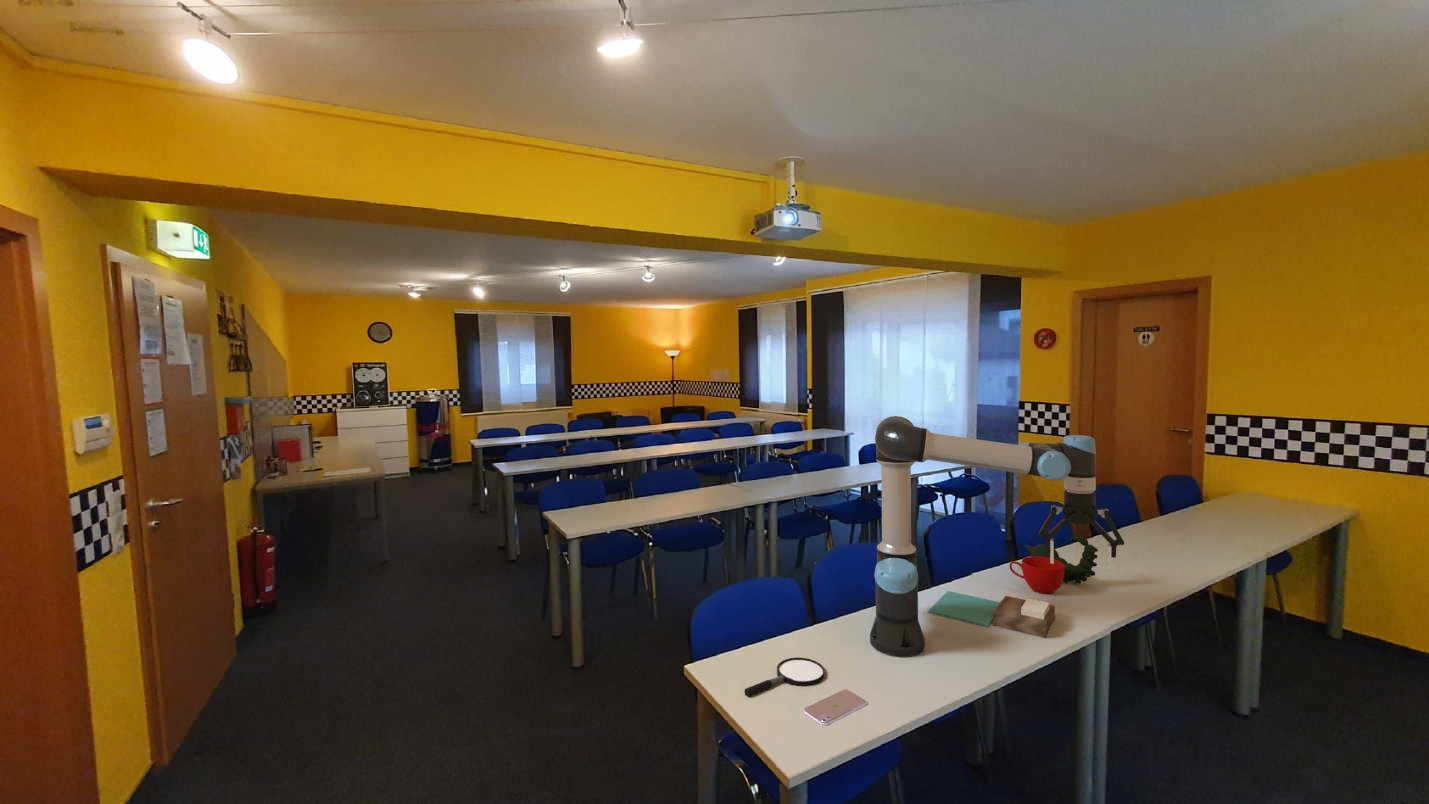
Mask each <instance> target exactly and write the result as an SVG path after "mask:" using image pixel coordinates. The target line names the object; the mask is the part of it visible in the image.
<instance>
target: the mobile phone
mask: <svg viewBox="0 0 1429 804" xmlns="http://www.w3.org/2000/svg"><path fill="white" fill-rule="evenodd" d="M867 705H868V702H867V700H866V699H864V698H863V697H861V696H859V695H857V694H856V693H854V692H852V691H851V690H849V689H842V690H840V691H838V692H836V693H834V694H831V695H830V696H827V697H825V698H823V699H821V700H819V701H817V702H815V703H812V704H810V705H808V706H806V707H805V708H804V709H803V711H802V712H803V714H805V715H806V717H807V716H808V717H809V719H810V718H811V720H813V721H815V722H816V723H817V724H819V725H820V726H822V727H826V726H829V725H831V724H833V723H835V722H837V721H839V720H841V719H843V718H845V717H846V716H849V715H850V714H852V713H854V712H856V711H858V710H860V709H861V708H864V707H865V706H867Z"/></svg>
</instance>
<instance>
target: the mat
mask: <svg viewBox="0 0 1429 804" xmlns="http://www.w3.org/2000/svg"><path fill="white" fill-rule="evenodd" d="M1000 603H1001V601H997V600H992V599H987V598H982V597H977V596H973V595H968V594H963V593H959V592H955V591H950V590H947V591H946V592H945V593H944V594H943V595H942V596H941V597H940V598H939V599H938V600H937V601H936V602H935V603H934V604H933V605H932V606H931V608H929V609H928V611H927V613H929V614H933V615H937V616H941V617H944V618H949V619H952V620H956V619H957V620H958V621H961V622H965V623H969V624H973V625H978V626H981V627H986V628H989V626H990V625H991V624H992V623H993V612H994V611H995V610H996V608H997V607H998V606H999V604H1000Z"/></svg>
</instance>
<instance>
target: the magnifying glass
mask: <svg viewBox="0 0 1429 804" xmlns="http://www.w3.org/2000/svg"><path fill="white" fill-rule="evenodd" d="M776 675H777V676H776V677H774V678H771V679H766V680H764V681H761V682H759V683H756V684H754V685H752V686H748V687H746V688H745V689H744V696H746V697H747V698H752V697H754V696H757V695H759V694H761V693H764V692H766V691H768V690H770V689H772V688H774V687H776V686H778V685H781V684H784V683H785V684H787V685H790V686H793V687H795V686H796V687H809V686H810V687H811V686H815V685H818V684H819V683H821V682H823V680H824V679H825V667H824V666H823V664H821V663H819V662H818V661H816V660H814V659H810V658H808V657H807V658H806V657H788V658H786V659H784V660H781V661H779V663H778V664H777V667H776Z"/></svg>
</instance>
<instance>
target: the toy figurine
mask: <svg viewBox="0 0 1429 804" xmlns="http://www.w3.org/2000/svg"><path fill="white" fill-rule="evenodd" d="M1070 541H1077V542H1078V543H1079V544H1080V545H1081V546H1083V547H1084V548H1083V552H1082V553H1081V558H1080V559H1079V563H1078V564H1077V565H1074V564H1073V563H1068V561H1067V560H1066V559H1065V558H1063V557H1060V555H1059V553H1058V551H1057V550H1056V549H1055V548H1054V560H1057V561H1060V562H1062V563H1063V564H1064V567H1065V569H1064V578H1063V581H1062V583H1064V584H1068V583H1069V582H1074V583H1076V584H1079V585H1081V583H1082V582H1087V581H1088V578H1091V577H1094V576H1096V572H1095V571H1094V570H1093V568H1094V567H1095V568H1096V567H1097V566H1098V563H1097V562H1095V559H1097V558H1098V555H1097V554H1095V553H1097V552H1098V551H1099V549H1098V548H1097V547H1095V546H1094V545H1093V544H1090V543H1089V541H1088V539H1087V538H1086V537H1084V536H1082V535H1073V536H1071V537H1070ZM1024 547H1025V549H1026V550H1027V551H1028V552H1029V557H1046V558H1050V551H1047V550H1046V544H1037V545H1035V546H1031V545H1027V544H1025V545H1024Z"/></svg>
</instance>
